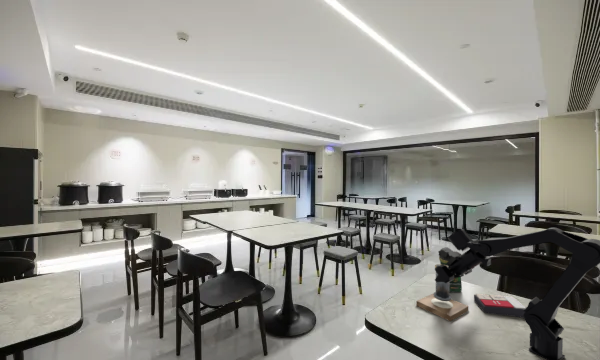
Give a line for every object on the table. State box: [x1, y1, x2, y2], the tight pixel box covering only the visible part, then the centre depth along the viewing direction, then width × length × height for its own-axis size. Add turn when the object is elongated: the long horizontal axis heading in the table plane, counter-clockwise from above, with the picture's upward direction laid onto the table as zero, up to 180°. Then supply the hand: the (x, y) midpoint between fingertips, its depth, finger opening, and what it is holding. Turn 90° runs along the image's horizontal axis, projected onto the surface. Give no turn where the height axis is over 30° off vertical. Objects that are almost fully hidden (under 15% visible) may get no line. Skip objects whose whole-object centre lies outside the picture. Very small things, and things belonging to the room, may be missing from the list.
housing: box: [433, 263, 452, 301], centre depth 106 cm, size 6×6×13 cm
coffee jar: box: [438, 250, 463, 293], centre depth 124 cm, size 10×8×19 cm
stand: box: [415, 292, 469, 322], centre depth 106 cm, size 14×14×2 cm
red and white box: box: [473, 293, 527, 319], centre depth 106 cm, size 11×4×15 cm
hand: (439, 279), depth 107 cm, fingers closed on housing, 5 cm apart
